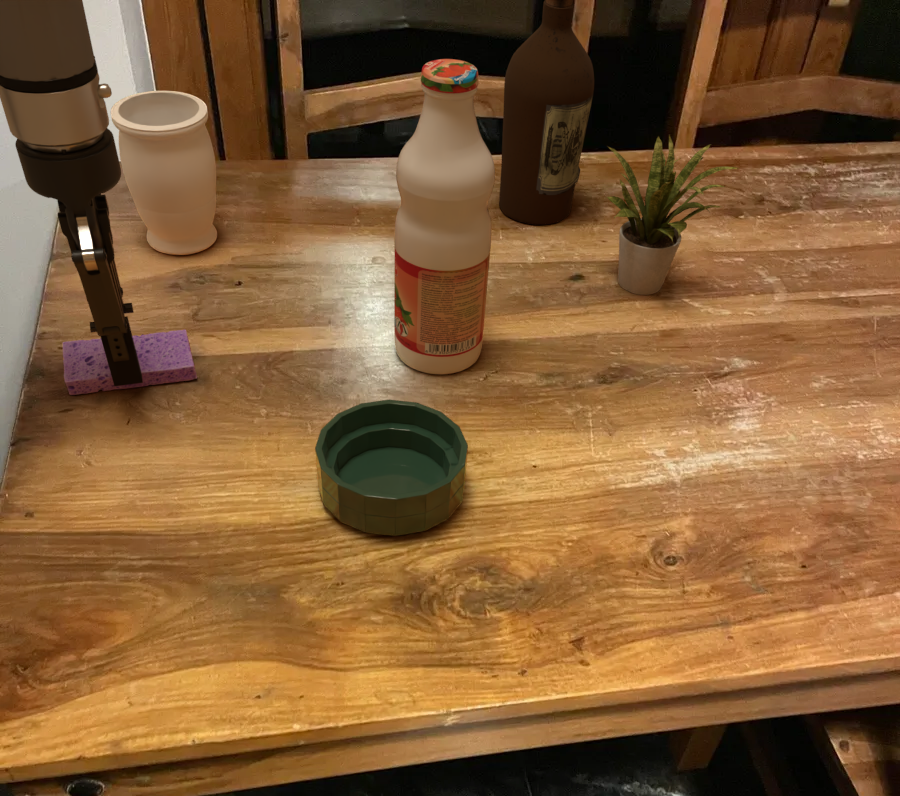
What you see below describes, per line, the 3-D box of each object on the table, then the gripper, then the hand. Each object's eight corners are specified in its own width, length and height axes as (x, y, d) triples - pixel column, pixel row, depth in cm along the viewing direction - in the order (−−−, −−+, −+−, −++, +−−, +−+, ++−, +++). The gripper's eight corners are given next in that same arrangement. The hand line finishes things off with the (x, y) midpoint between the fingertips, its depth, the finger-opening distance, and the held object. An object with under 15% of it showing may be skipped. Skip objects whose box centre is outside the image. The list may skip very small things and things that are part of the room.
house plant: (732, 307, 108) (776, 166, 96) (631, 331, 104) (662, 187, 92) (665, 248, 117) (698, 111, 104) (569, 267, 113) (591, 127, 100)
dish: (336, 551, 80) (333, 509, 76) (307, 453, 88) (303, 411, 85) (481, 526, 83) (486, 484, 79) (441, 433, 91) (443, 391, 87)
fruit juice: (456, 387, 96) (474, 100, 75) (377, 359, 99) (373, 74, 77) (496, 342, 102) (523, 63, 81) (420, 316, 104) (427, 39, 83)
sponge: (66, 356, 97) (61, 341, 95) (190, 342, 99) (187, 326, 98) (68, 397, 92) (63, 381, 91) (197, 381, 95) (194, 365, 93)
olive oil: (478, 201, 123) (493, -19, 104) (539, 181, 127) (565, -32, 108) (529, 236, 117) (555, 11, 98) (591, 214, 122) (628, -5, 103)
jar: (134, 222, 115) (105, 93, 104) (218, 213, 117) (199, 85, 106) (143, 266, 108) (114, 133, 97) (233, 255, 111) (214, 124, 100)
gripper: (115, 164, 71) (172, 414, 89) (108, 97, 79) (162, 339, 97) (11, 173, 69) (90, 426, 87) (14, 103, 77) (86, 348, 95)
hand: (128, 380), depth 92 cm, fingers closed
